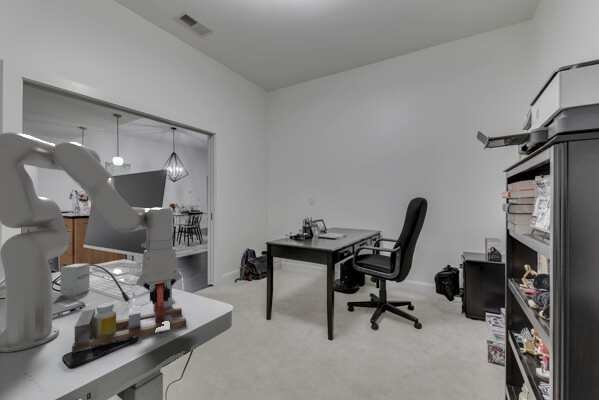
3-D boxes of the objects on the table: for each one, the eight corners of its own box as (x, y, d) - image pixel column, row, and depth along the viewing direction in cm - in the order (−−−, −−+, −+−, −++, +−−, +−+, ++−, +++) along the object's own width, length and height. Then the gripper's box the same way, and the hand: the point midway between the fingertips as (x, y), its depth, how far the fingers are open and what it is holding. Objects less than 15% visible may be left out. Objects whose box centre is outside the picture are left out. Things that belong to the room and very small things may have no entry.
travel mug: (165, 312, 94) (164, 257, 95) (149, 310, 96) (149, 256, 96) (176, 305, 101) (176, 254, 101) (161, 304, 102) (161, 253, 102)
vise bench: (72, 353, 68) (72, 327, 68) (80, 334, 78) (80, 311, 78) (186, 326, 83) (186, 304, 83) (181, 313, 93) (180, 293, 93)
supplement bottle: (88, 342, 74) (88, 308, 74) (101, 333, 79) (101, 301, 79) (108, 341, 74) (108, 307, 74) (120, 332, 80) (120, 301, 80)
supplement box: (76, 296, 113) (76, 267, 113) (59, 296, 113) (59, 267, 113) (90, 290, 120) (90, 263, 120) (74, 290, 120) (74, 263, 121)
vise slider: (128, 335, 77) (128, 291, 77) (129, 326, 83) (129, 284, 83) (173, 325, 83) (173, 284, 83) (170, 317, 89) (170, 278, 90)
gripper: (129, 249, 77) (129, 311, 77) (188, 244, 86) (188, 299, 86) (130, 246, 84) (130, 303, 83) (184, 241, 92) (185, 293, 92)
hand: (160, 300), depth 85 cm, fingers closed on vise slider, 3 cm apart
